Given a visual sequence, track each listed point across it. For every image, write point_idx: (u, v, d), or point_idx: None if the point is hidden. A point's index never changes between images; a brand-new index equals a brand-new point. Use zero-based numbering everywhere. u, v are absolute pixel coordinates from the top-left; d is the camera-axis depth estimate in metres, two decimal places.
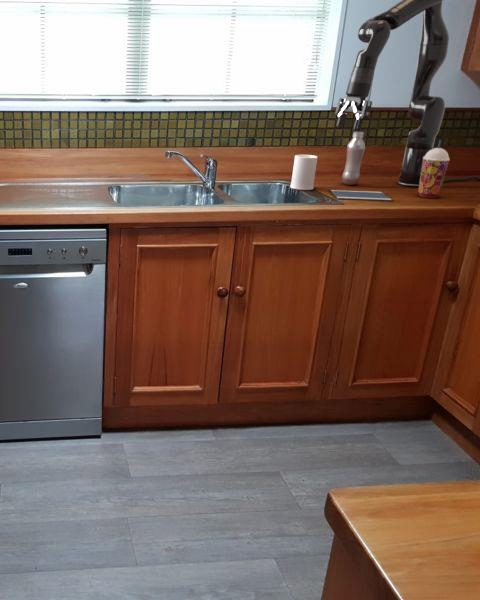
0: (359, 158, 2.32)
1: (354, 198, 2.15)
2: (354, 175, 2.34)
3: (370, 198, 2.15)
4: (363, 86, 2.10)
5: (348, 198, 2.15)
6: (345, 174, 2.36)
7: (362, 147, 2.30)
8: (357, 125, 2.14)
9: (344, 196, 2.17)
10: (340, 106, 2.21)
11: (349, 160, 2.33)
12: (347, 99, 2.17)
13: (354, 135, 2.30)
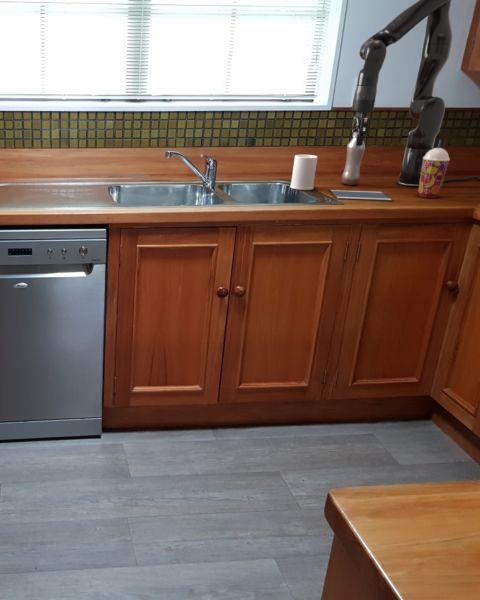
0: (359, 158, 2.32)
1: (354, 198, 2.15)
2: (354, 175, 2.34)
3: (370, 198, 2.15)
4: (362, 103, 2.24)
5: (348, 198, 2.15)
6: (345, 174, 2.36)
7: (362, 147, 2.30)
8: (358, 140, 2.28)
9: (344, 196, 2.17)
10: None
11: (349, 160, 2.33)
12: (356, 114, 2.31)
13: (354, 135, 2.31)
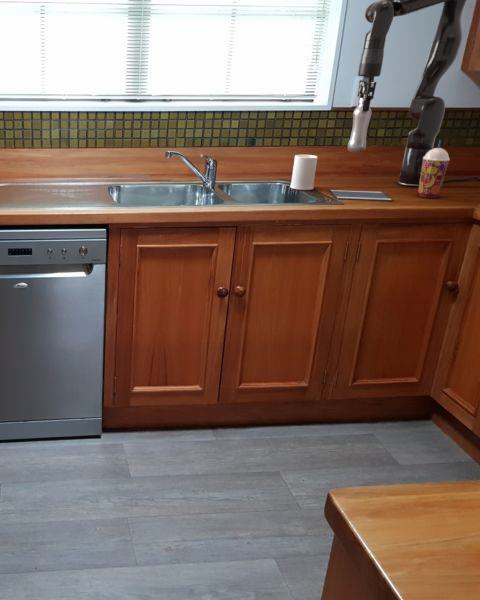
0: (365, 125, 2.26)
1: (354, 198, 2.15)
2: (360, 143, 2.28)
3: (370, 198, 2.15)
4: (369, 66, 2.18)
5: (348, 198, 2.15)
6: (351, 142, 2.30)
7: (368, 113, 2.24)
8: (364, 106, 2.22)
9: (344, 196, 2.17)
10: None
11: (355, 127, 2.28)
12: None
13: (360, 101, 2.25)
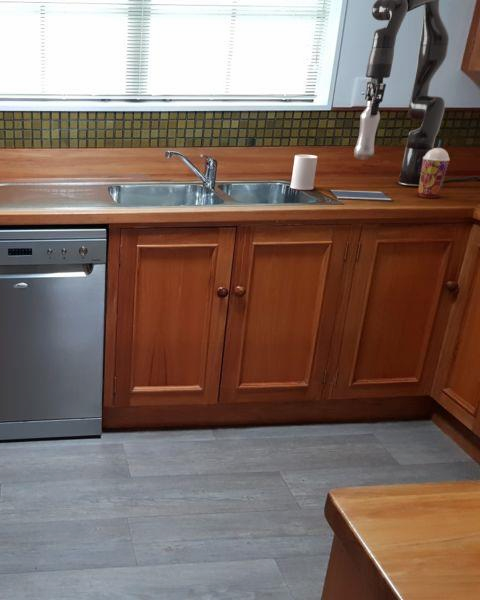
0: (373, 129, 2.10)
1: (354, 198, 2.15)
2: (368, 149, 2.12)
3: (370, 198, 2.15)
4: (378, 67, 2.02)
5: (348, 198, 2.15)
6: (358, 147, 2.14)
7: (377, 117, 2.08)
8: (373, 109, 2.06)
9: (344, 196, 2.17)
10: None
11: (362, 132, 2.12)
12: (370, 81, 2.09)
13: (368, 104, 2.09)
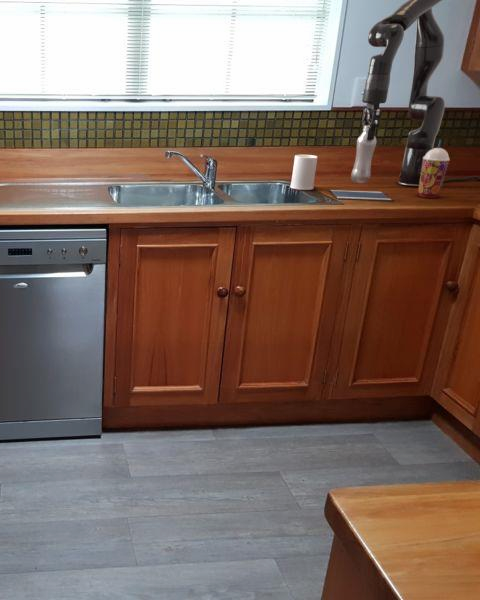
0: (370, 154, 2.12)
1: (354, 198, 2.15)
2: (364, 173, 2.14)
3: (370, 198, 2.15)
4: (374, 93, 2.04)
5: (348, 198, 2.15)
6: (355, 171, 2.16)
7: (373, 142, 2.10)
8: (369, 134, 2.08)
9: (344, 196, 2.17)
10: None
11: (359, 156, 2.14)
12: (367, 106, 2.11)
13: (364, 128, 2.11)
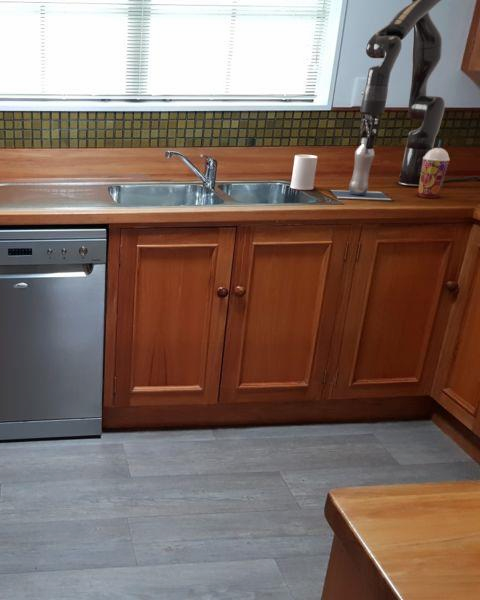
0: (368, 166, 2.14)
1: (354, 198, 2.15)
2: (362, 185, 2.16)
3: (370, 198, 2.15)
4: (372, 104, 2.05)
5: (348, 198, 2.15)
6: (352, 183, 2.18)
7: (371, 154, 2.12)
8: (368, 143, 2.09)
9: (344, 196, 2.17)
10: None
11: (357, 168, 2.15)
12: (365, 116, 2.13)
13: (362, 141, 2.12)
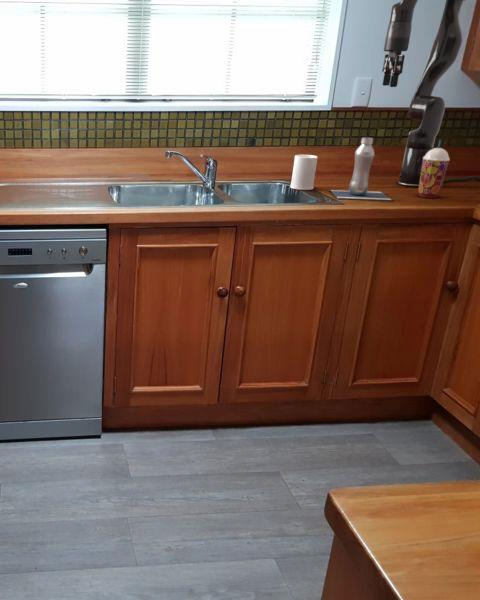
0: (368, 166, 2.14)
1: (354, 198, 2.15)
2: (362, 185, 2.16)
3: (370, 198, 2.15)
4: (396, 41, 2.06)
5: (348, 198, 2.15)
6: (352, 183, 2.18)
7: (371, 154, 2.12)
8: (392, 81, 2.10)
9: (344, 196, 2.17)
10: (386, 63, 2.17)
11: (357, 168, 2.15)
12: (388, 55, 2.14)
13: (363, 141, 2.12)
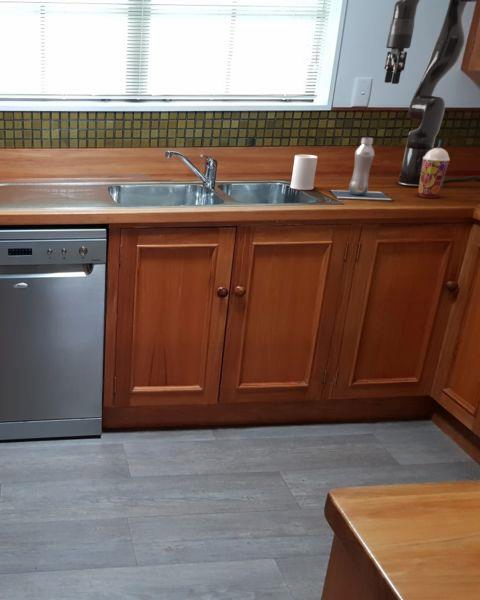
0: (368, 166, 2.14)
1: (354, 198, 2.15)
2: (362, 185, 2.16)
3: (370, 198, 2.15)
4: (398, 37, 2.07)
5: (348, 198, 2.15)
6: (352, 183, 2.18)
7: (371, 154, 2.12)
8: (394, 78, 2.10)
9: (344, 196, 2.17)
10: (388, 60, 2.18)
11: (357, 168, 2.15)
12: (391, 52, 2.14)
13: (363, 141, 2.12)
